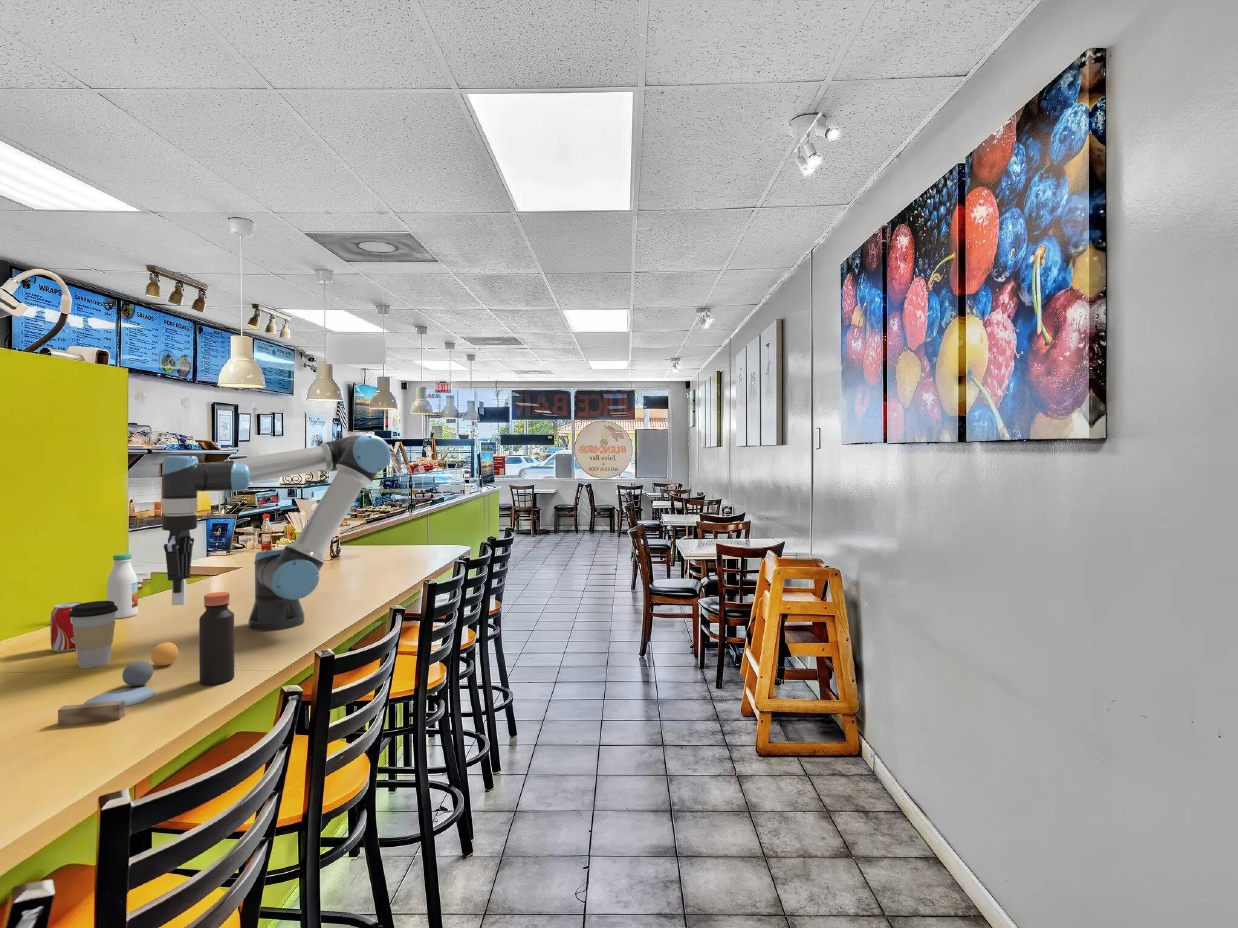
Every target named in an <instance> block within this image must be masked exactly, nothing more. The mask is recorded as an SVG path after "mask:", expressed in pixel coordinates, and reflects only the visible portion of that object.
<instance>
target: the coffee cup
mask: <svg viewBox="0 0 1238 928" xmlns="http://www.w3.org/2000/svg"><path fill="white" fill-rule="evenodd" d="M117 610H118V608H117V606H116V605H115V604H114V602H113V601H107V600H98V601H97V600H96V601H95V600H94V601H87V602H82V604H78V605H75V606H73V607H72V610H71V611H70V612H69V615H68V616H69V617H72V619H73V632H74V640H75V647H76V649H77V650H76V653H77V661H78V668H80V669H84V668H85V669H93V668H94V667H95V668H99V667H103V666H107V665H108V664H110V663H111V662H110V660H111V656H112V655H111V653H112V646H113V643H114V635H115V628H116V627H115V625H116V619H115V612H116V611H117ZM102 665H103V666H102Z"/></svg>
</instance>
